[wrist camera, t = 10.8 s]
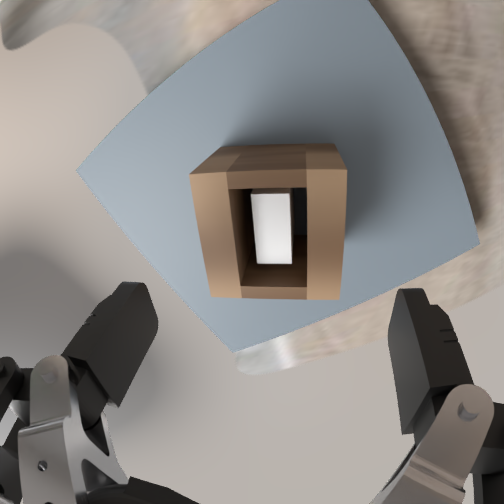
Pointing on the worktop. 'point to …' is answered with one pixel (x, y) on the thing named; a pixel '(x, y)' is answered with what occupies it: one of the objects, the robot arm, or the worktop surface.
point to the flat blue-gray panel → (290, 132)
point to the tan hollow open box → (242, 227)
